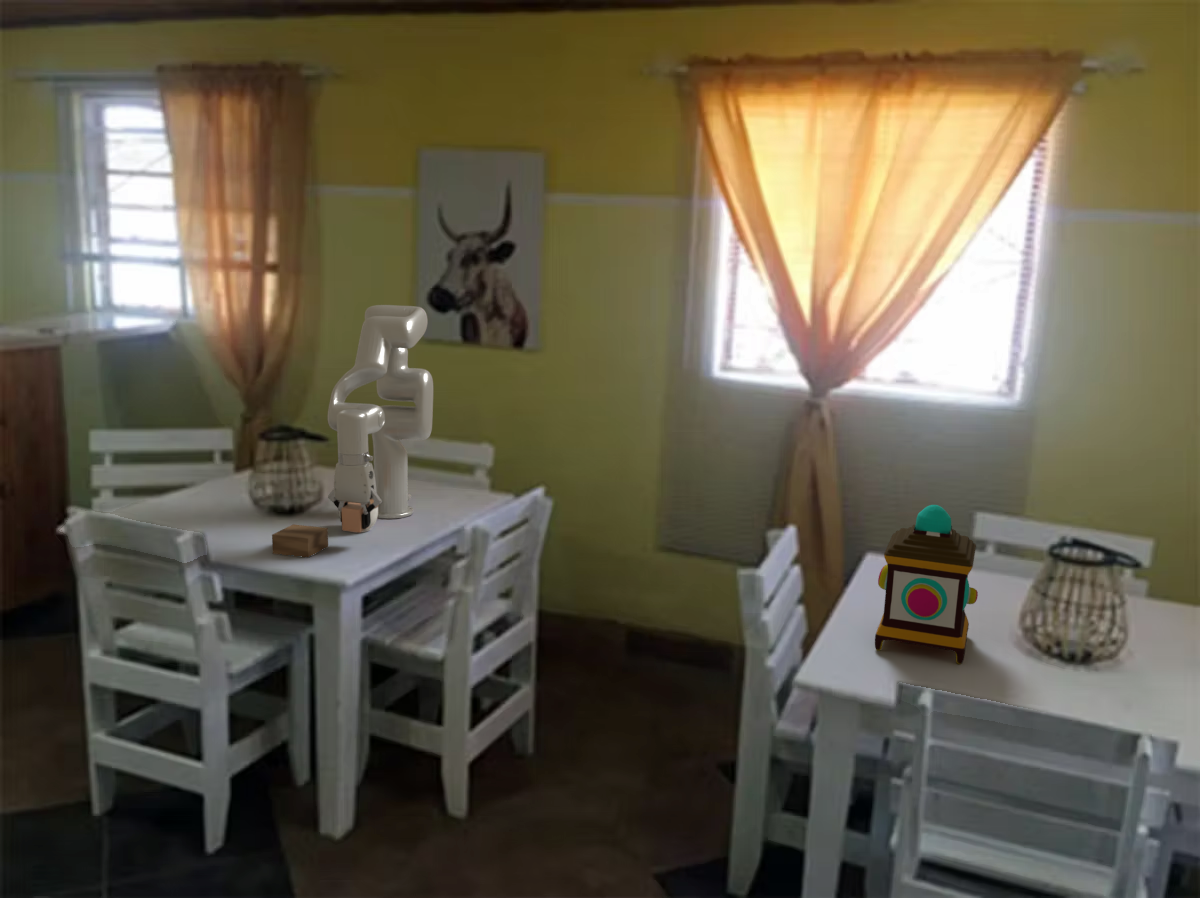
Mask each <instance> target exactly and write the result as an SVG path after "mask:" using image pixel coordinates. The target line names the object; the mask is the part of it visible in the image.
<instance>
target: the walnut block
mask: <svg viewBox="0 0 1200 898" xmlns="http://www.w3.org/2000/svg"><path fill="white" fill-rule="evenodd" d="M271 543H272V545H271V546H272V554H273V555H280V554H282V556H288V555H290V556H289V557H292V556H291V555H294V556H293V557H297V556H302V557H301V558H305V557H309V556H311V555H313V554H314V555H316V554H318V553H320V552H322V551H323V550H325V549H328V548H329V529H328V527H321V526H311V525H304V524H303V525H302V524H294V523H293V524H291V525H289V526H287V527H285V528H282V529H281V530H279V531H277V532H275V533H272V534H271ZM324 548H325V549H324ZM322 549H323V550H322ZM321 550H322V551H321ZM319 551H320V552H319ZM317 552H318V553H317ZM315 553H316V554H315ZM314 555H313V556H314ZM311 557H312V556H311ZM309 558H310V557H309Z"/></svg>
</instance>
